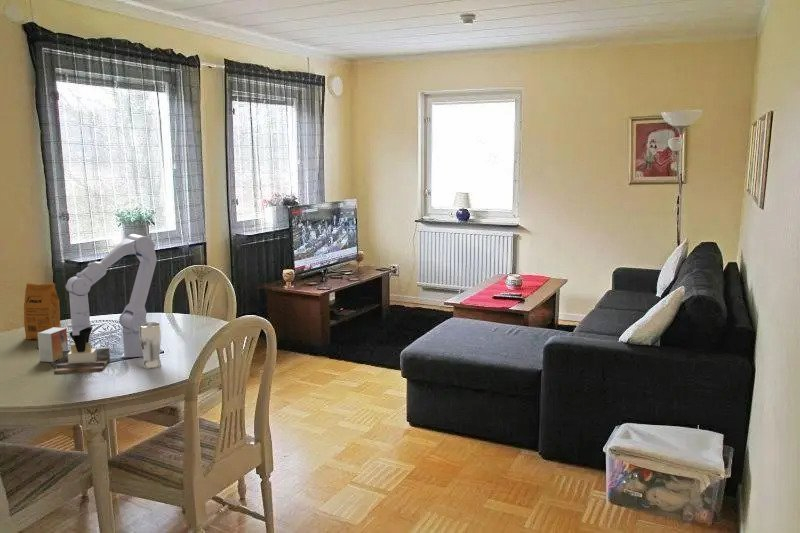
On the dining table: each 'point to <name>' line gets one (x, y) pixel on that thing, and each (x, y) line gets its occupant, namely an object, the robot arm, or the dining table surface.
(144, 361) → the beer glass
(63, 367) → the grey brown open tray
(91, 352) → the large cream box
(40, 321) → the coffee package
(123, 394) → the dining table surface
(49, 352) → the small box
